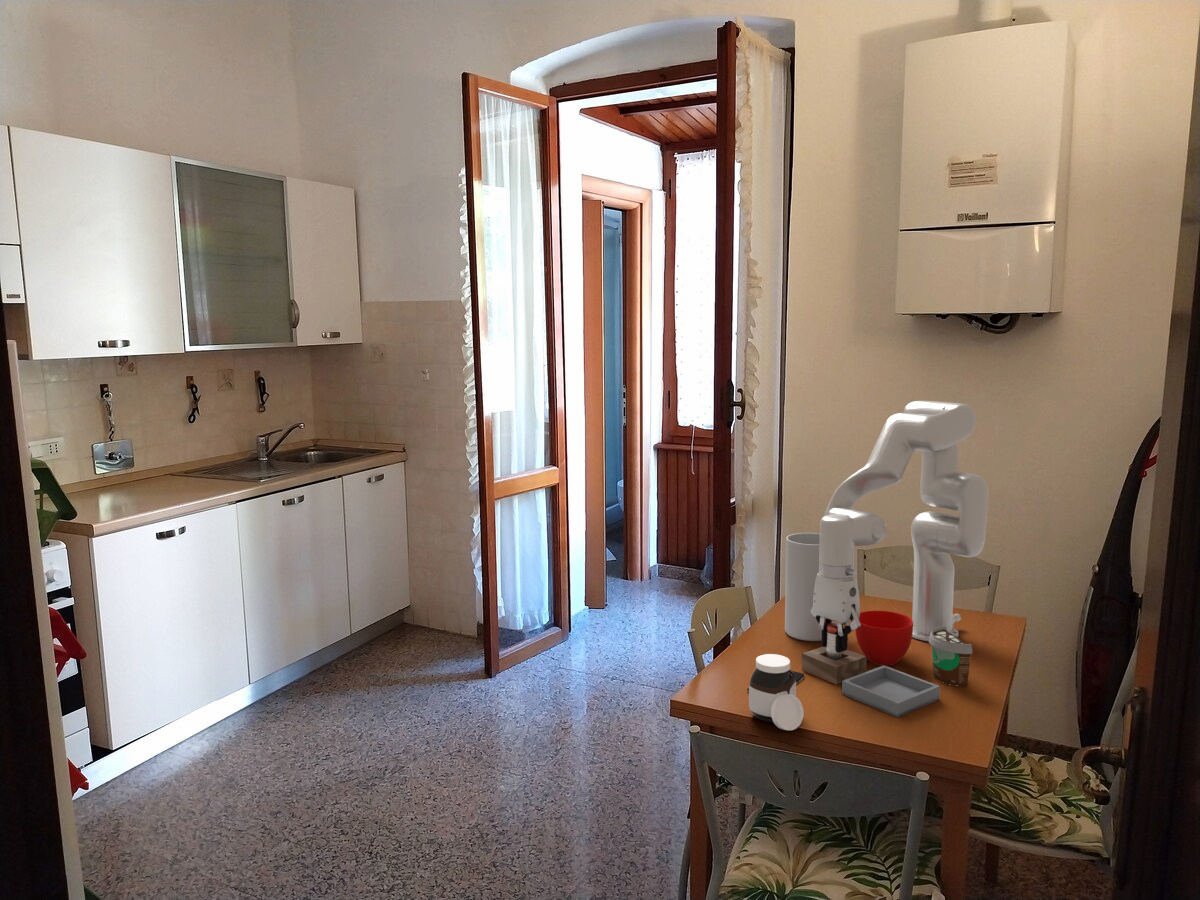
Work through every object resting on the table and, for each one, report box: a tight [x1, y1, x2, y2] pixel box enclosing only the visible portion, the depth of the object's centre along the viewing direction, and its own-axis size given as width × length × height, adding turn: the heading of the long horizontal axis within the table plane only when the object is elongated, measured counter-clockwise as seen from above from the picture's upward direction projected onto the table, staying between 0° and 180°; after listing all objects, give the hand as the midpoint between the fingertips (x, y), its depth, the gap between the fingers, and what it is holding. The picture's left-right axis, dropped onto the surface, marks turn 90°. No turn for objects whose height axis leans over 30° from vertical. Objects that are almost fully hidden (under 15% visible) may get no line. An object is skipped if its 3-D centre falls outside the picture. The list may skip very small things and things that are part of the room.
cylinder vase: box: [784, 532, 836, 642], centre depth 218 cm, size 12×12×25 cm
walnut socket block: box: [801, 646, 867, 685], centre depth 195 cm, size 10×10×4 cm
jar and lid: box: [748, 653, 804, 731], centre depth 172 cm, size 12×11×12 cm
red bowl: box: [855, 610, 913, 666], centre depth 202 cm, size 13×17×10 cm
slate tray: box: [841, 665, 941, 719], centre depth 181 cm, size 14×14×3 cm
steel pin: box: [826, 622, 842, 661], centre depth 195 cm, size 3×3×11 cm
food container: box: [928, 626, 973, 687], centre depth 190 cm, size 12×6×10 cm, turn 5°
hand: (834, 647), depth 194 cm, fingers closed on steel pin, 3 cm apart
